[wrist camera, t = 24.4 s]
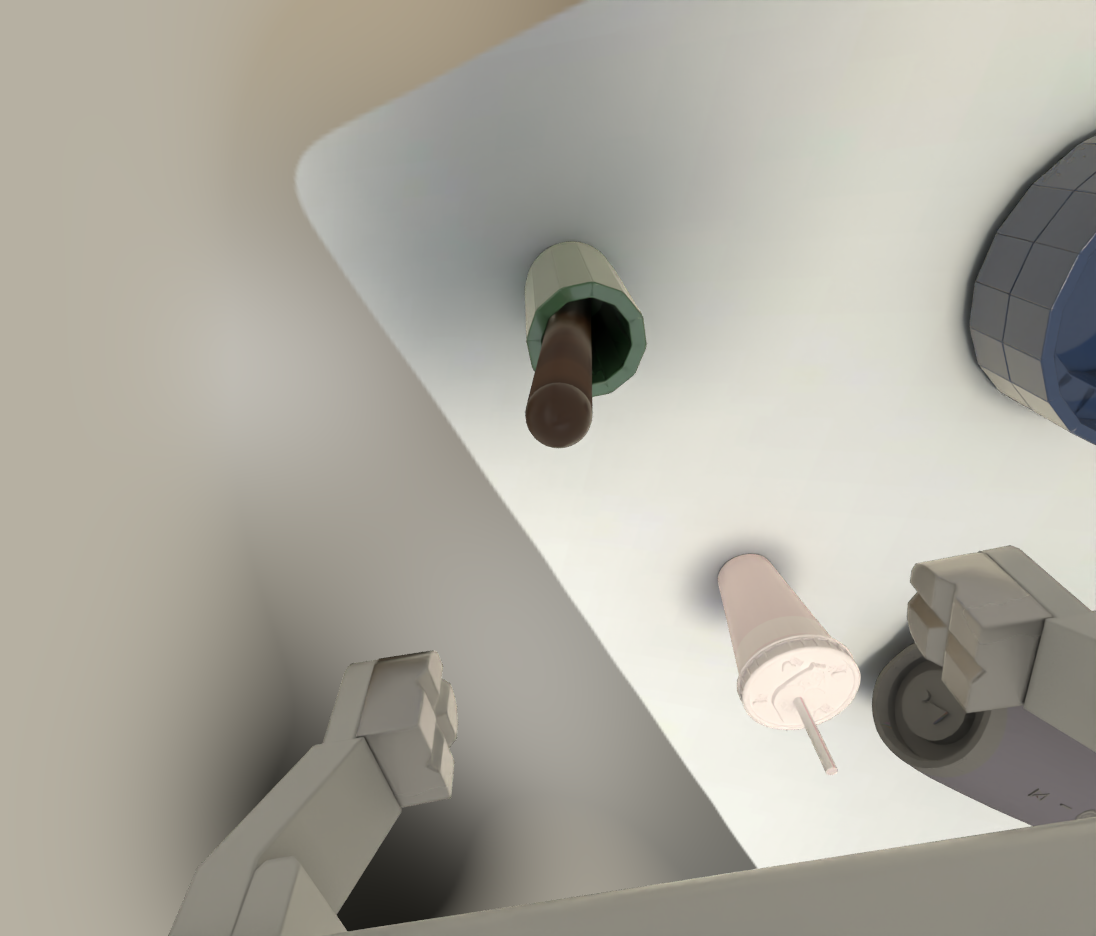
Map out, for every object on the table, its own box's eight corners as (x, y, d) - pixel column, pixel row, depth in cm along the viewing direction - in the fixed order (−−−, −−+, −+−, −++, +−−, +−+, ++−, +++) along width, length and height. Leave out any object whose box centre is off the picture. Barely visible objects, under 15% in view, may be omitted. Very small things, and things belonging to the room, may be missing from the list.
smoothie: (683, 604, 43) (748, 797, 31) (718, 528, 40) (805, 708, 28) (769, 619, 44) (865, 812, 32) (810, 546, 41) (932, 728, 29)
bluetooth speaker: (839, 682, 48) (910, 810, 39) (932, 598, 44) (1035, 717, 35) (1035, 773, 54) (1135, 900, 45) (1132, 705, 50) (1260, 830, 42)
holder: (516, 252, 32) (516, 297, 24) (607, 232, 32) (637, 272, 24) (535, 339, 34) (541, 407, 26) (621, 322, 34) (652, 385, 26)
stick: (552, 280, 32) (515, 400, 16) (587, 273, 32) (585, 388, 16) (558, 315, 33) (530, 463, 17) (593, 308, 33) (598, 453, 17)
